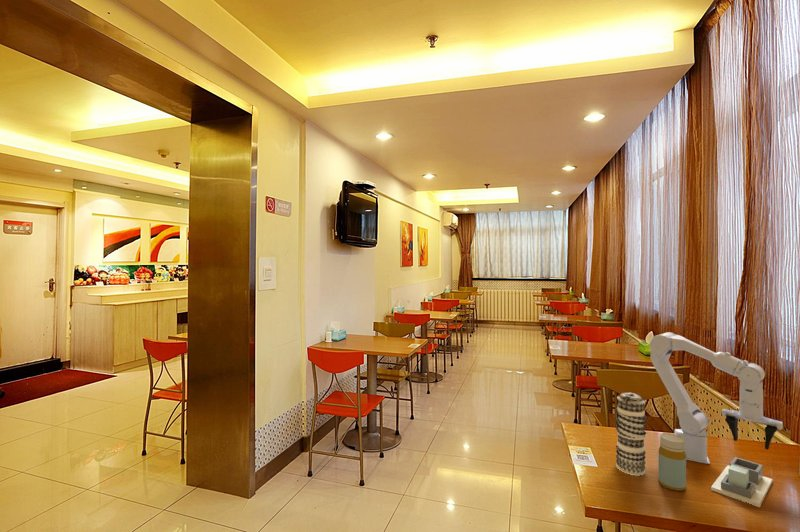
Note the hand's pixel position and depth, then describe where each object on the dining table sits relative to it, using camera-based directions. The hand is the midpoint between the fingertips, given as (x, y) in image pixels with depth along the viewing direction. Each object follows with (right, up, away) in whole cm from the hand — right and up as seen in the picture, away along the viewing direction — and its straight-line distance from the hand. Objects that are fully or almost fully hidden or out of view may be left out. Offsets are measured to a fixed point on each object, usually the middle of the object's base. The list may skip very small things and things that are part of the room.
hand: (751, 444), depth 127 cm
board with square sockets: (-8, -11, -6) cm, 14 cm away
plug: (-12, -10, -9) cm, 17 cm away
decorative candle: (-36, -11, +5) cm, 38 cm away
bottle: (-29, -11, -5) cm, 32 cm away
